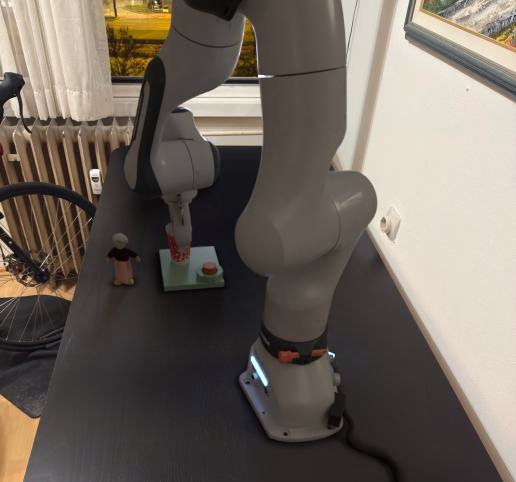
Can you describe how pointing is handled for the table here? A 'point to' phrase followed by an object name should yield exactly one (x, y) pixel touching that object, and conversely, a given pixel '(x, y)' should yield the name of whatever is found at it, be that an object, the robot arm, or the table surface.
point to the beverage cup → (174, 253)
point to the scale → (190, 270)
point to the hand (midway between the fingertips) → (180, 240)
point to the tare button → (209, 268)
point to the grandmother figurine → (122, 260)
